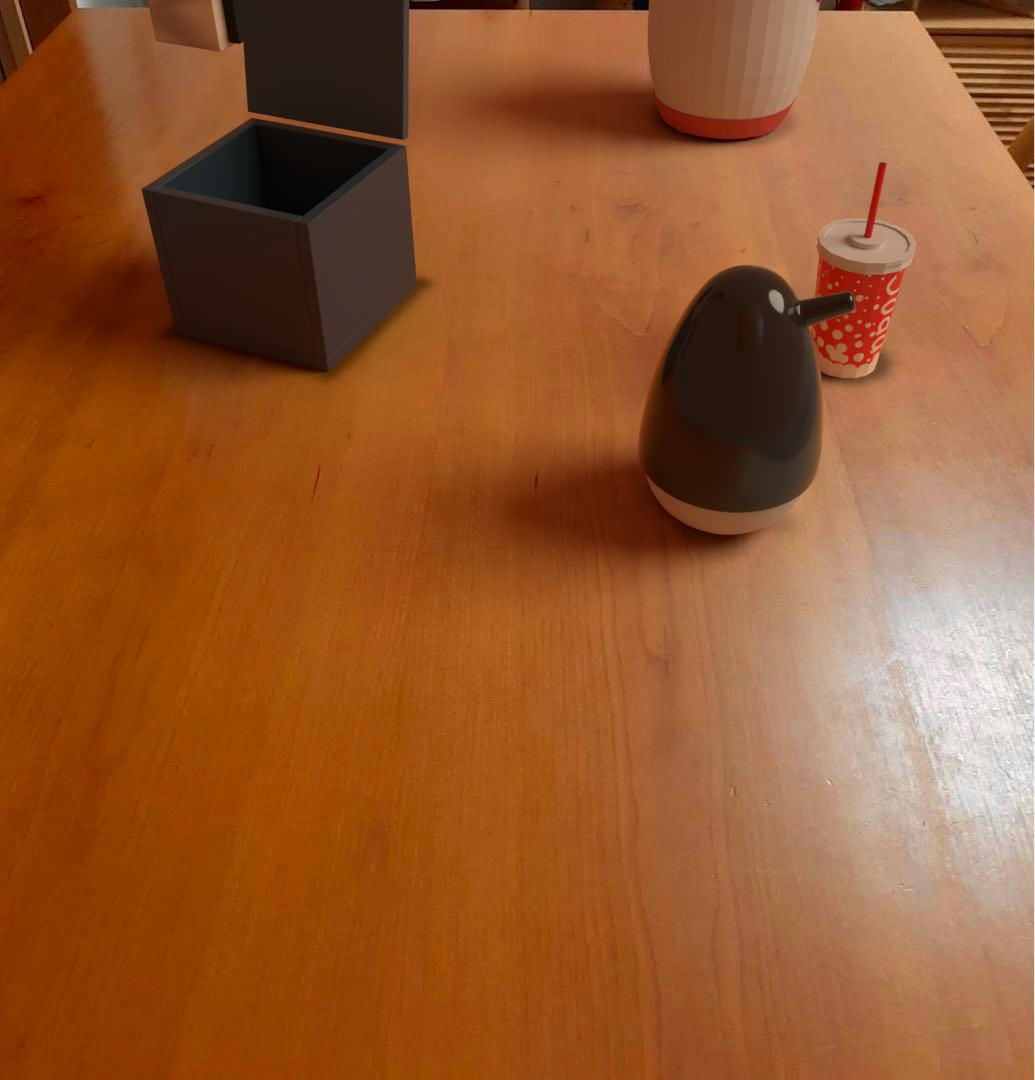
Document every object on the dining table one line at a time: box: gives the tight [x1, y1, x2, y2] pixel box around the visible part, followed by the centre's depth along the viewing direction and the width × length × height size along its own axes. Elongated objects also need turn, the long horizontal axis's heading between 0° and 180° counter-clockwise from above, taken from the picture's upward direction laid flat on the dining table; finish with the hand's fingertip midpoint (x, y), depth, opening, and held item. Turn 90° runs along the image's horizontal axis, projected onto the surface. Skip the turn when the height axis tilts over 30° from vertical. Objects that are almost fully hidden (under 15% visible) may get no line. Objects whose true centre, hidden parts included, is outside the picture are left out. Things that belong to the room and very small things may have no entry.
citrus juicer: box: [647, 0, 822, 140], centre depth 104 cm, size 16×17×20 cm
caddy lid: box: [242, 0, 410, 141], centre depth 79 cm, size 14×13×1 cm
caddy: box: [141, 117, 418, 373], centre depth 82 cm, size 13×13×11 cm
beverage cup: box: [810, 161, 918, 379], centre depth 75 cm, size 6×6×14 cm
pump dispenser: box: [637, 264, 855, 536], centre depth 63 cm, size 10×10×15 cm
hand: (210, 28), depth 67 cm, fingers closed on block, 4 cm apart
